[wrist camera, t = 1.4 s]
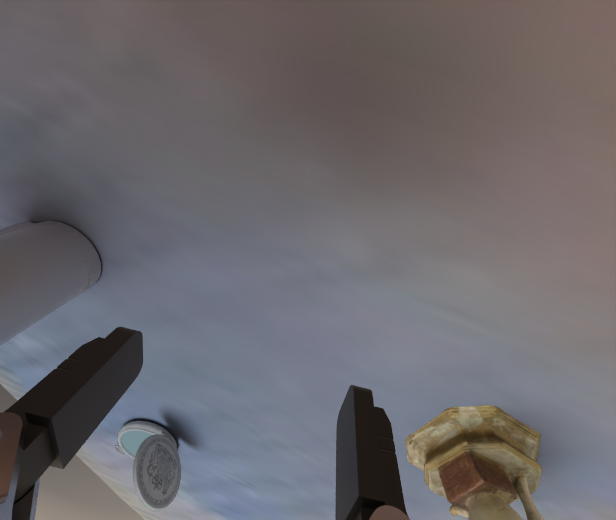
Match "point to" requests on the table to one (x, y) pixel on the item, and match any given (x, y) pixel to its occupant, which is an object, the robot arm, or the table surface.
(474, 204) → the table surface
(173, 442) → the pocket watch
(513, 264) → the table surface
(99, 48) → the table surface
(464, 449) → the statue
